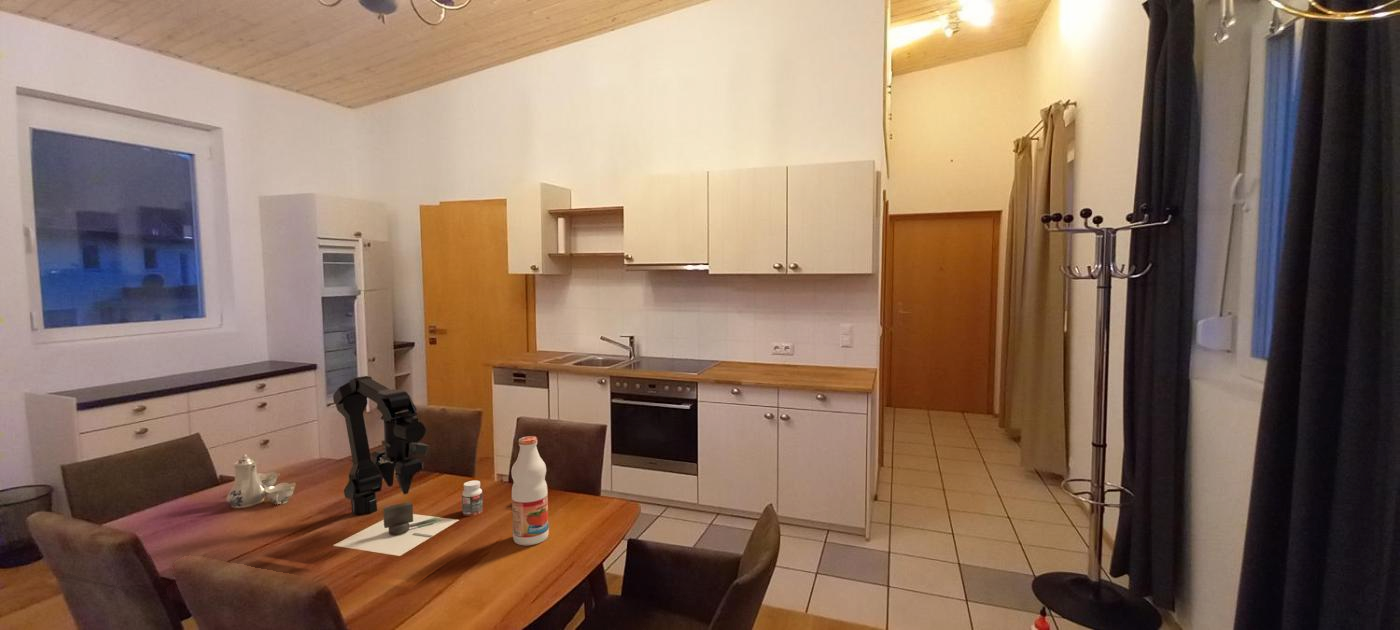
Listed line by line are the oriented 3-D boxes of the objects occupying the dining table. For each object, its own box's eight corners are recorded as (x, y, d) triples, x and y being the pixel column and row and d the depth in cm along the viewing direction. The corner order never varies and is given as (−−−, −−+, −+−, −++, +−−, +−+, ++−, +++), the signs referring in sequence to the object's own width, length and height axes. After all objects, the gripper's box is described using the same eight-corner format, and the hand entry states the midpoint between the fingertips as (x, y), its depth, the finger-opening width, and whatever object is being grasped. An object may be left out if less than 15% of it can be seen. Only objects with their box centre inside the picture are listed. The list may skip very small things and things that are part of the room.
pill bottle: (475, 519, 167) (474, 487, 166) (458, 518, 168) (457, 485, 167) (486, 511, 172) (485, 480, 172) (470, 510, 173) (468, 479, 173)
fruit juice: (526, 528, 160) (523, 432, 158) (555, 533, 157) (552, 435, 155) (505, 543, 151) (502, 441, 149) (536, 548, 148) (532, 444, 146)
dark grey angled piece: (385, 537, 153) (384, 512, 152) (383, 531, 157) (382, 506, 156) (437, 525, 160) (436, 500, 160) (434, 519, 164) (433, 495, 164)
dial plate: (333, 549, 149) (332, 544, 149) (398, 515, 170) (398, 511, 170) (400, 559, 143) (399, 555, 143) (459, 523, 164) (459, 519, 164)
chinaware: (306, 505, 183) (309, 454, 183) (243, 519, 169) (247, 463, 169) (269, 489, 198) (272, 441, 198) (209, 500, 184) (212, 449, 184)
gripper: (440, 435, 159) (442, 489, 161) (408, 424, 171) (410, 474, 172) (400, 445, 151) (402, 501, 152) (369, 433, 162) (371, 485, 163)
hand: (398, 490), depth 160 cm, fingers open, 9 cm apart
